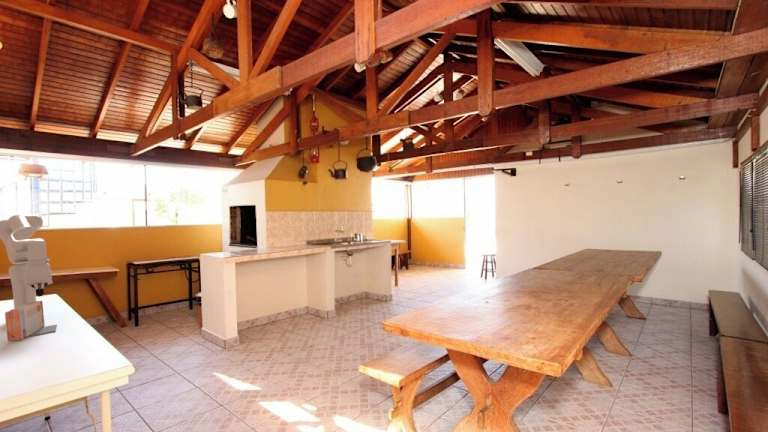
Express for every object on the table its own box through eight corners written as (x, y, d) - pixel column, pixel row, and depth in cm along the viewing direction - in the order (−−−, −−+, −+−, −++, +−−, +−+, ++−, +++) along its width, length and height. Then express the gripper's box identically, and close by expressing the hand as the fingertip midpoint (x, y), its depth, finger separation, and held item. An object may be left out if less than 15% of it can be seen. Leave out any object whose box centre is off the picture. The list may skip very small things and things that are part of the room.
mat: (25, 331, 189) (25, 330, 189) (56, 325, 197) (56, 324, 197) (22, 338, 178) (22, 337, 178) (55, 331, 186) (55, 330, 186)
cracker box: (28, 302, 191) (3, 312, 172) (43, 300, 194) (20, 310, 174) (30, 328, 192) (6, 341, 172) (45, 326, 194) (22, 339, 174)
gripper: (56, 260, 206) (59, 292, 207) (19, 263, 197) (22, 297, 198) (55, 261, 200) (58, 294, 201) (17, 265, 191) (20, 300, 192)
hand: (40, 295), depth 199 cm, fingers closed
